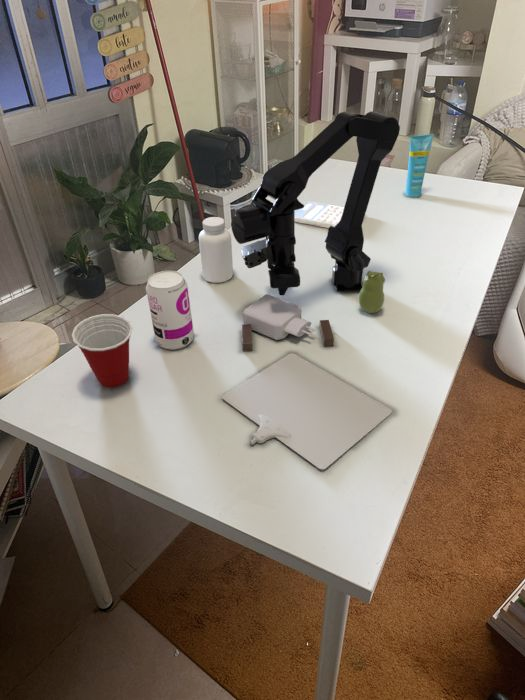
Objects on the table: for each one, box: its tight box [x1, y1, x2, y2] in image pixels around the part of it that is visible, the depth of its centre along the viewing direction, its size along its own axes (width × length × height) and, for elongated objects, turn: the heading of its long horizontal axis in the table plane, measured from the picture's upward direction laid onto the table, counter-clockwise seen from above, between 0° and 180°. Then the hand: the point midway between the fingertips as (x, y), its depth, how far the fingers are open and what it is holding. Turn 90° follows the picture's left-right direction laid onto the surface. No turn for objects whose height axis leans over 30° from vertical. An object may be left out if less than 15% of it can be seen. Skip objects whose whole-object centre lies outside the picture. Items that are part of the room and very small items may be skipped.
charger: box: [242, 293, 316, 341], centre depth 115 cm, size 5×9×15 cm
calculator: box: [295, 201, 345, 229], centre depth 162 cm, size 13×20×2 cm, turn 62°
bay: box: [241, 319, 335, 352], centre depth 113 cm, size 19×7×2 cm, turn 93°
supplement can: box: [145, 270, 195, 351], centre depth 110 cm, size 8×8×15 cm
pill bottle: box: [198, 216, 234, 284], centre depth 131 cm, size 8×8×15 cm
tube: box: [404, 133, 435, 198], centre depth 169 cm, size 7×5×19 cm, turn 104°
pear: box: [358, 270, 386, 314], centre depth 118 cm, size 6×5×10 cm
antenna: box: [221, 352, 393, 471], centre depth 96 cm, size 25×24×1 cm
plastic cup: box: [71, 313, 134, 389], centre depth 101 cm, size 11×11×12 cm
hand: (281, 294), depth 121 cm, fingers closed
